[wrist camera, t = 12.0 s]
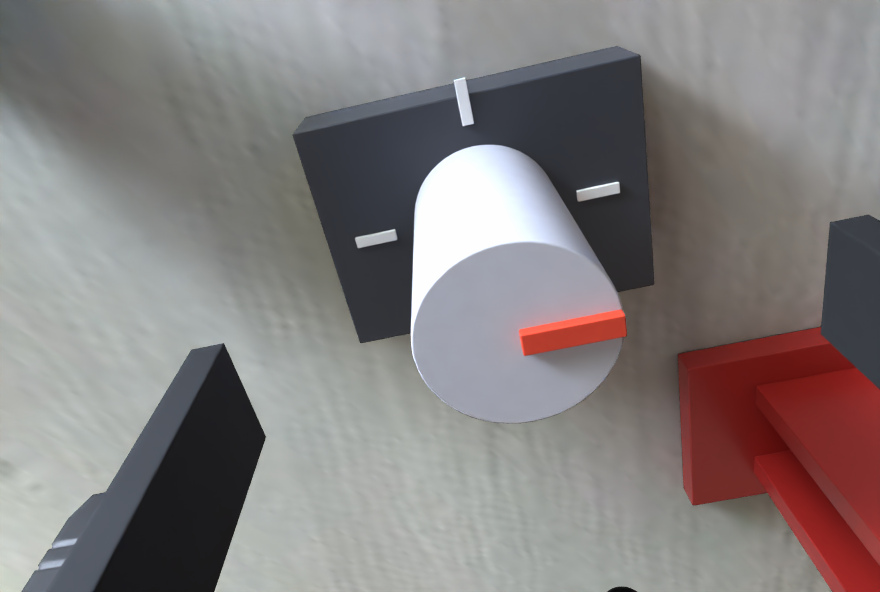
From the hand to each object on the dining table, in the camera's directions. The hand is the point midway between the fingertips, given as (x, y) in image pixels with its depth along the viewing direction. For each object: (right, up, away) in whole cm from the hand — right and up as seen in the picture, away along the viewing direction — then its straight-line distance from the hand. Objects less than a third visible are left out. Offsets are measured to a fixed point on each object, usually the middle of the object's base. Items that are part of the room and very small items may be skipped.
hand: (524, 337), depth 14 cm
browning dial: (0, +4, +7) cm, 8 cm away
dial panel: (0, +5, +10) cm, 11 cm away
